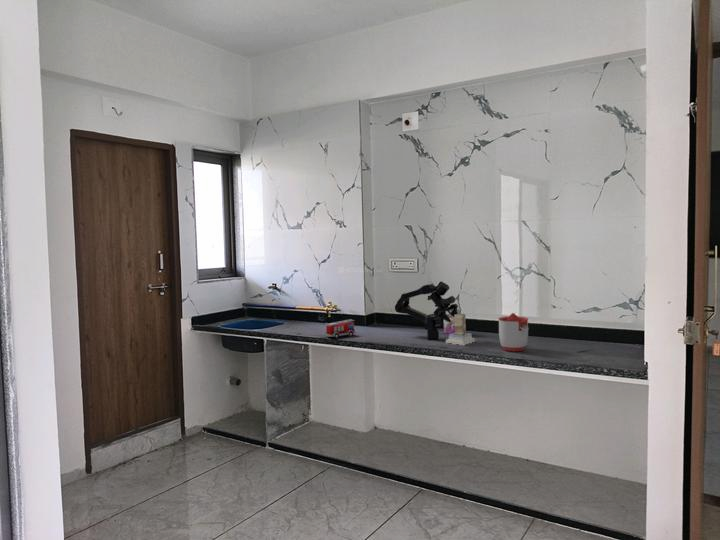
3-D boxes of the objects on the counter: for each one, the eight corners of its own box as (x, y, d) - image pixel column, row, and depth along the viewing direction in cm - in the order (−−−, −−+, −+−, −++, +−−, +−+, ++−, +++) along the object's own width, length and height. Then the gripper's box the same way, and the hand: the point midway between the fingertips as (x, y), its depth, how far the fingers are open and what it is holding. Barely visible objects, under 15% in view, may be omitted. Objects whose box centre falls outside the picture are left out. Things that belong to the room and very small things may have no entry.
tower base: (463, 345, 313) (463, 336, 312) (445, 343, 321) (445, 334, 321) (474, 341, 322) (474, 333, 321) (457, 339, 330) (456, 331, 329)
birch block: (461, 336, 318) (461, 315, 317) (454, 336, 321) (454, 314, 320) (465, 335, 321) (465, 314, 320) (459, 334, 324) (458, 313, 323)
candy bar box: (443, 333, 351) (442, 308, 350) (449, 332, 354) (448, 307, 353) (455, 335, 342) (455, 309, 341) (461, 334, 345) (461, 308, 344)
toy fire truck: (357, 335, 354) (356, 320, 353) (331, 339, 344) (330, 323, 344) (350, 333, 362) (349, 318, 361) (324, 337, 352) (324, 321, 351)
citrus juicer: (515, 354, 286) (515, 316, 285) (492, 349, 301) (492, 312, 300) (537, 350, 293) (537, 313, 292) (513, 345, 309) (513, 310, 307)
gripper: (437, 293, 318) (454, 313, 312) (455, 290, 332) (471, 309, 325) (426, 306, 324) (442, 326, 318) (444, 302, 338) (460, 321, 331)
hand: (454, 320), depth 323 cm, fingers open, 9 cm apart
